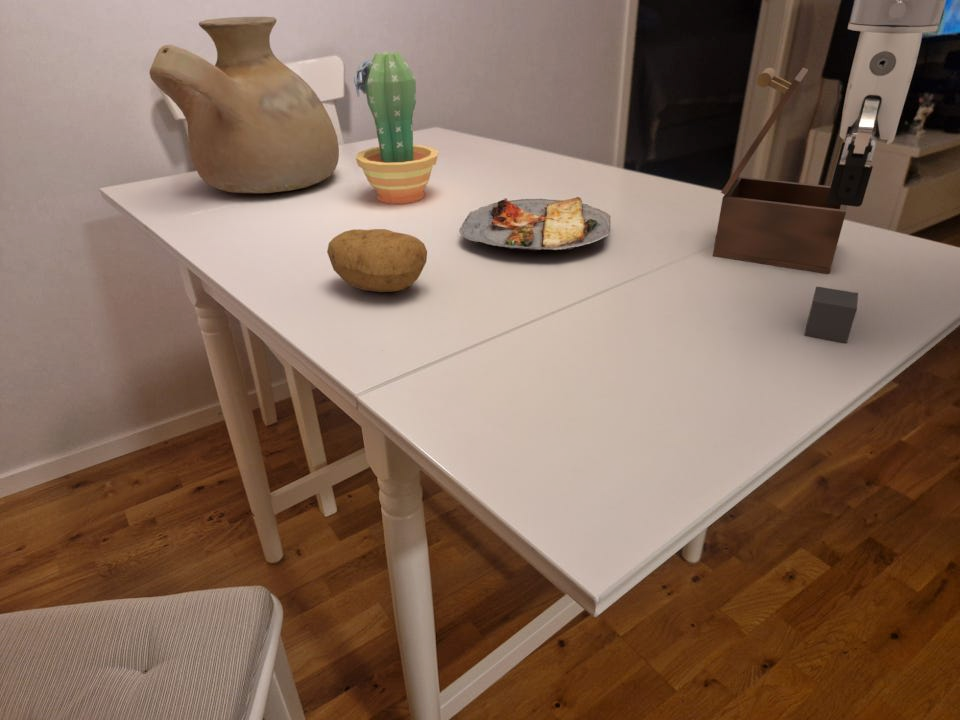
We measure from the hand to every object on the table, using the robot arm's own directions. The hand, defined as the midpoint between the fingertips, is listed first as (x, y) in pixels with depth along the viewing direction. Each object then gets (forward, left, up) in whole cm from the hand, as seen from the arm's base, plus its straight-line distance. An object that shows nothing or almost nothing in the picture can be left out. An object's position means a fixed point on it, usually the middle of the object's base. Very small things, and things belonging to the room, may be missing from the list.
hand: (846, 191), depth 71 cm
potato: (+55, +3, -16) cm, 57 cm away
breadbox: (+2, -22, -16) cm, 27 cm away
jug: (+98, -40, -16) cm, 107 cm away
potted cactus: (+67, -37, -16) cm, 78 cm away
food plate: (+38, -22, -16) cm, 47 cm away
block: (-1, +3, -16) cm, 16 cm away
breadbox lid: (+6, -23, +1) cm, 24 cm away
